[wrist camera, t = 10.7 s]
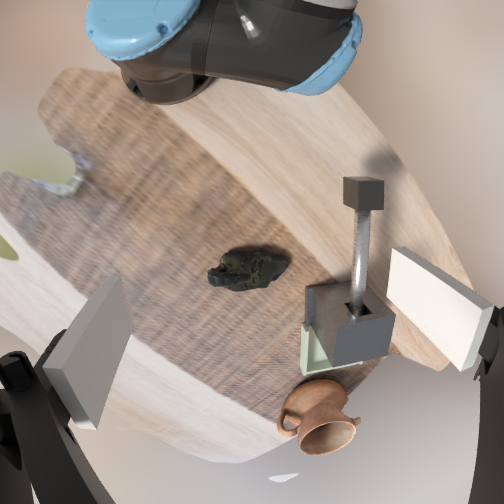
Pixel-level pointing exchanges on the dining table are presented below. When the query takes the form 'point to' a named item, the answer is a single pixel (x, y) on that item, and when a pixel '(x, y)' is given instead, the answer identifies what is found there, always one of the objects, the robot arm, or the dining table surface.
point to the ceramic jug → (318, 417)
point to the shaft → (361, 231)
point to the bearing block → (348, 323)
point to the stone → (246, 270)
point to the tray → (314, 353)
